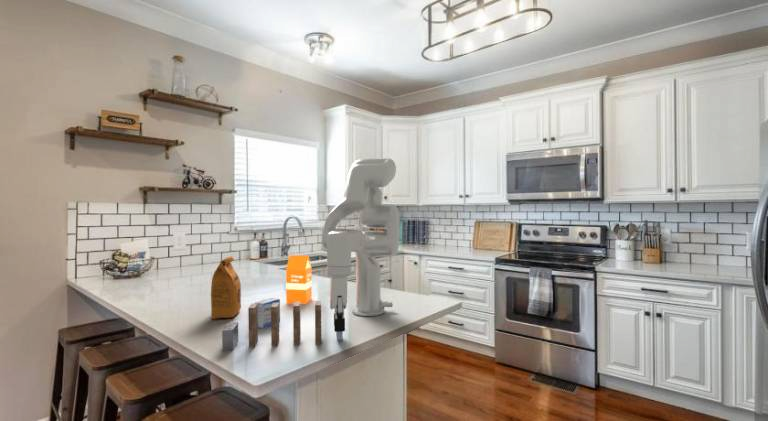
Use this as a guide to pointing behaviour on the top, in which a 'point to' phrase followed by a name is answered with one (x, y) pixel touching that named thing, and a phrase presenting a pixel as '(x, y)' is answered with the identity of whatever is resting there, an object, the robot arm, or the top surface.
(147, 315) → the top surface
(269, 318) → the medicine box
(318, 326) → the domino
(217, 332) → the top surface
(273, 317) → the domino
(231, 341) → the block
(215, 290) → the coffee package
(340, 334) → the domino
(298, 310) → the domino
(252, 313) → the domino
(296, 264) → the orange juice
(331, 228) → the robot arm
